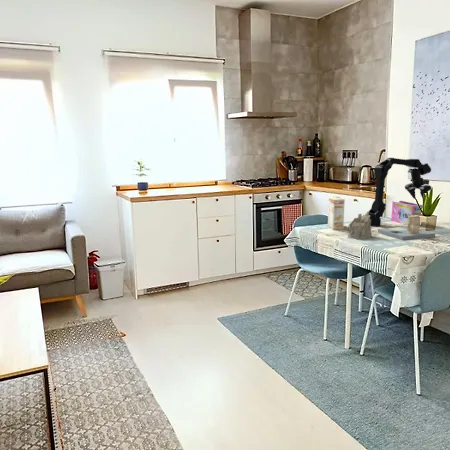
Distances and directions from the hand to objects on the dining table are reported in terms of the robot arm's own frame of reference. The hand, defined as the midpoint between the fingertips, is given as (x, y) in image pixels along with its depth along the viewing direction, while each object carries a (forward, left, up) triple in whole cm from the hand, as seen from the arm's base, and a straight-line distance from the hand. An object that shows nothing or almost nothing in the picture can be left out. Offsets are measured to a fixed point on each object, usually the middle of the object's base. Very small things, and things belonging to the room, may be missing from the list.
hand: (419, 199), depth 287 cm
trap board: (-7, -45, -15) cm, 48 cm away
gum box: (-7, -6, -16) cm, 19 cm away
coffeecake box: (-49, -37, -16) cm, 64 cm away
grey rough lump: (-34, -57, -16) cm, 68 cm away
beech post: (-3, -50, -13) cm, 52 cm away
